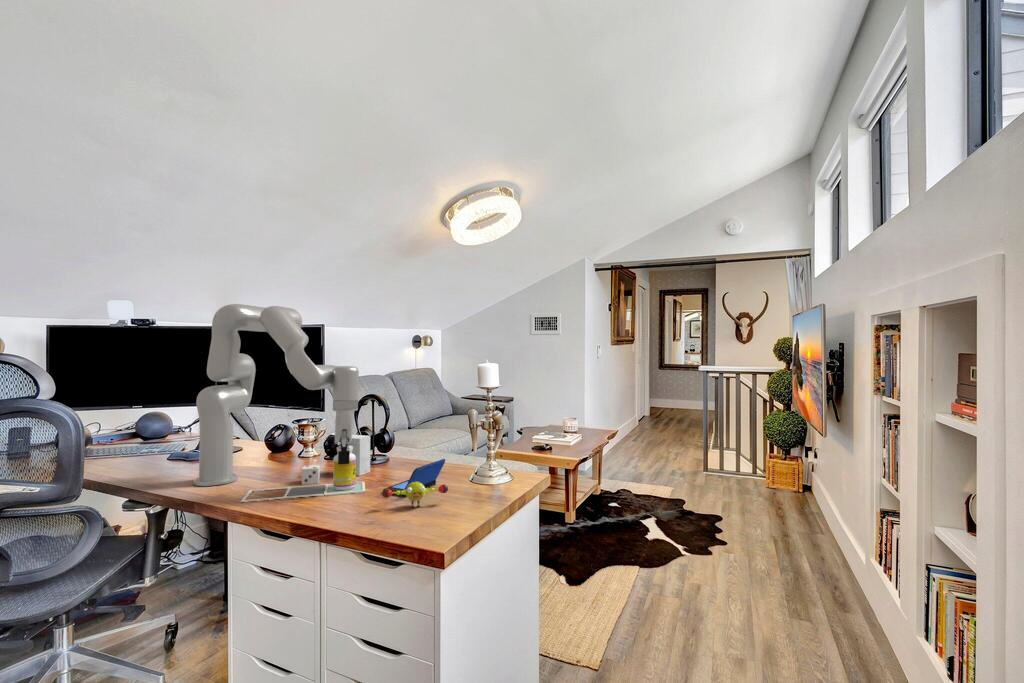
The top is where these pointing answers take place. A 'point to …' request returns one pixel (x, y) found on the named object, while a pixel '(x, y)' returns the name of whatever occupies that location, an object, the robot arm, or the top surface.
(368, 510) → the top surface
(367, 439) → the small box
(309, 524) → the top surface
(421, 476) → the handheld game console
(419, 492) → the toy figure
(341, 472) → the supplement bottle
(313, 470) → the die
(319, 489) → the board
